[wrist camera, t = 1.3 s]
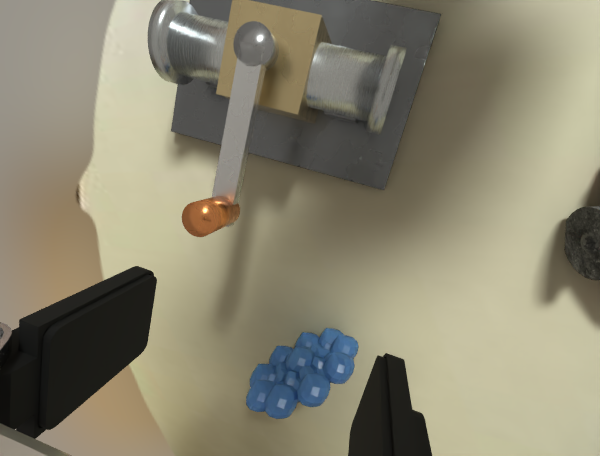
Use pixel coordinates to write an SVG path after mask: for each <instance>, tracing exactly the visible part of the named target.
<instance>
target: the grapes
mask: <svg viewBox="0 0 600 456" xmlns="http://www.w3.org/2000/svg"><path fill="white" fill-rule="evenodd" d="M357 351H358V343H357V341H356V340H355V339H354V338H353V337H350V336H346V335H344V334H343V333H342V332H341V331H340V330H336V329H331V328H326V329H325V330H324V331H323V333H322V334H321V336H320V338H319V337H318V336H317V335H316V334H313V333H305V332H303V333H302V334H301V335H300V337H299V338H298V340H297V342H296V345H295V348H294V349H293V348H291V347H288V346H277V347H276V348H275V350H274V351H273V353H272V354H271V357H270V359H269V364H258V366H257V367H256V369H255V370H254V371H253V373H252V375H251V378H250V387H251V388H250V390H249V392H248V394H247V397H246V405H247V406H248V407H249V409H250V410H253V411H256V412H265V411H266V413H267V414H268V415H269V416H270V417H273V418H276V419H283V418H287V417H289V416H290V415H291V414H292V412H293V411H294V409H295V408H296V405H297V402H301V403H302V405H305V406H308V407H317V406H320V405H321V404H322V403H323V402H324V401H325V399H326V398H327V396H328V394H329V391H330V383H334V384H343V383H345V382H346V381H347V380H348V379H349V378H350V376H351V375H352V373H353V370H354V366H355V365H354V361H353V359H354V357H355V356H356V354H357Z"/></svg>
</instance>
